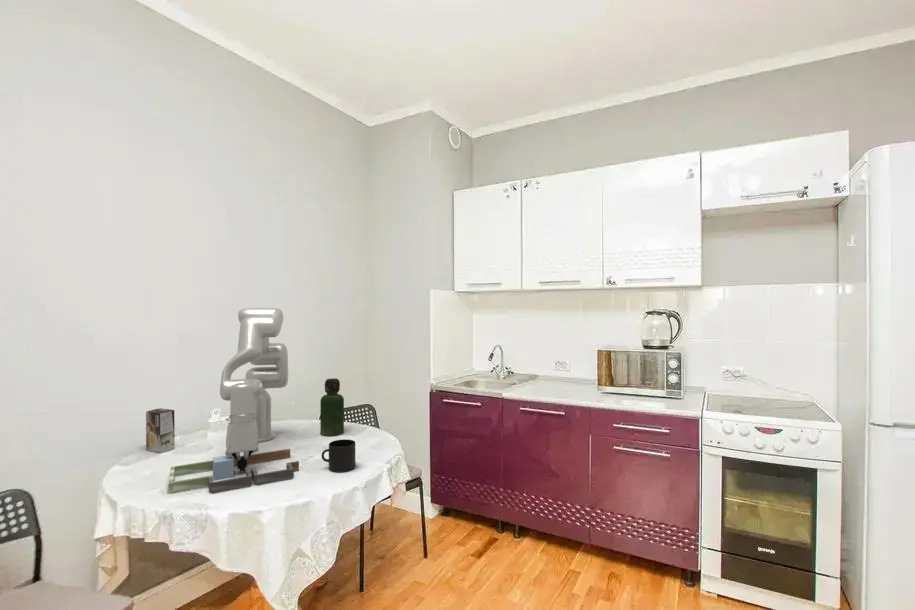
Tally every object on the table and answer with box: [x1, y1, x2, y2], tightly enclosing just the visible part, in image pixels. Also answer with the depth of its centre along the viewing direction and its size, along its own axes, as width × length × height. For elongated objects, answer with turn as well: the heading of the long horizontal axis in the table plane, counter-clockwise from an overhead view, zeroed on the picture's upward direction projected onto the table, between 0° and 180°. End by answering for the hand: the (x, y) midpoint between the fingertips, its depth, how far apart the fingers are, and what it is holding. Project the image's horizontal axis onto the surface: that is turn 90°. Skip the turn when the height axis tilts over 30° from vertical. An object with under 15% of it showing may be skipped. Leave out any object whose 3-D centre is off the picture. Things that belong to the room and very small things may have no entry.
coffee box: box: [145, 408, 176, 454], centre depth 186 cm, size 9×6×16 cm
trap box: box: [167, 448, 300, 495], centre depth 156 cm, size 24×39×3 cm, turn 120°
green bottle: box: [319, 377, 345, 437], centre depth 209 cm, size 10×10×25 cm
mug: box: [321, 439, 356, 473], centre depth 164 cm, size 9×12×9 cm
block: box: [212, 455, 235, 481], centre depth 157 cm, size 6×6×6 cm
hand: (242, 470), depth 160 cm, fingers closed
